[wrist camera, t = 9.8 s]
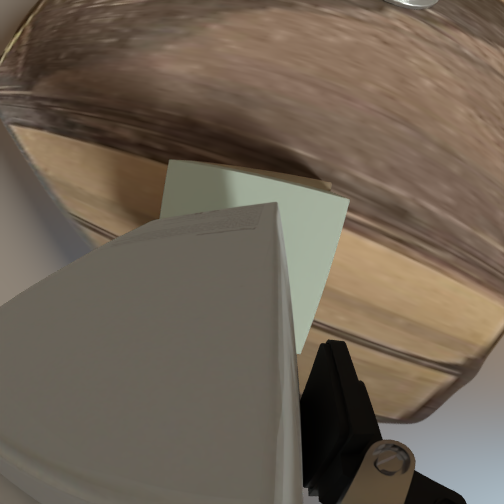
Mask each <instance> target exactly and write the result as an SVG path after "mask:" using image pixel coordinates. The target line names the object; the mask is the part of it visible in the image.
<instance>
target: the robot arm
mask: <svg viewBox="0 0 504 504" xmlns="http://www.w3.org/2000/svg"><path fill="white" fill-rule="evenodd" d="M384 1H387V2H389V3H392V4H394V5H397V6H401V7H404V8H409V9H426V8H429V7H431V6H433V5H434V4H435V3H436V2H437V1H438V0H384ZM300 413H301V438H302V470H303V487H304V488H308V491H309V496H319V502H321V503H322V504H466V501H465V499H464V498H463V497H462V496H461V495H460V494H458V493H456V492H455V491H453V490H451V489H449V488H447V487H445V486H443V485H441V484H439V483H437V482H435V481H433V480H431V479H429V478H428V477H426V476H424V475H422V474H420V473H419V472H417V471H415V470H414V469H415V457H414V454H413V453H412V451H411V450H410V449H409V448H408V447H407V446H406V445H404V444H402V443H400V442H398V441H394V440H383V439H382V436H381V433H380V429H379V426H378V423H377V420H376V417H375V414H374V411H373V408H372V405H371V402H370V399H369V396H368V393H367V390H366V387H365V384H364V383H363V382H362V381H358V378H357V375H356V372H355V369H354V366H353V363H352V360H351V357H350V354H349V351H348V348H347V345H346V343H345V342H344V341H337V340H327V342H326V343H321V344H320V347H319V349H318V352H317V355H316V358H315V361H314V364H313V367H312V370H311V373H310V375H309V378H308V381H307V384H306V386H305V389H304V392H303V394H302V397H301V400H300ZM0 504H41V503H40V502H38V501H37V500H35V499H34V498H32V497H31V496H29V495H28V494H27V493H25V492H24V491H22V490H21V489H20V488H18V487H17V486H16V485H14V484H13V483H12V482H10V481H9V480H8V479H7V478H5V477H4V476H3V475H2V474H1V473H0Z"/></svg>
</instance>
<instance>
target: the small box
mask: <svg viewBox="0 0 504 504" xmlns="http://www.w3.org/2000/svg"><path fill="white" fill-rule="evenodd" d="M0 473H1V474H2V475H3V476H4V477H5V478H7V479H8V480H9V481H10V482H12V483H13V484H14V485H16V486H17V487H18V488H20V489H21V490H22V491H24V492H25V493H27V494H28V495H29V496H31V497H32V498H34V499H35V500H37V501H38V502H40V503H41V504H303V470H302V438H301V413H300V394H299V380H298V367H297V354H296V342H295V330H294V319H293V308H292V299H291V289H290V281H289V272H288V263H287V256H286V249H285V242H284V235H283V228H282V222H281V216H280V210H279V205H278V203H277V202H270V203H262V204H254V205H247V206H240V207H233V208H226V209H219V210H212V211H206V212H199V213H193V214H186V215H180V216H174V217H168V218H162V219H156V220H152V221H150V222H148V223H146V224H144V225H142V226H140V227H138V228H136V229H134V230H132V231H130V232H128V233H126V234H124V235H122V236H119V237H117V238H116V239H114V240H112V241H110V242H108V243H106V244H104V245H102V246H100V247H99V248H97V249H95V250H93V251H91V252H90V253H88V254H86V255H84V256H83V257H81V258H79V259H77V260H76V261H74V262H72V263H70V264H69V265H67V266H65V267H63V268H62V269H60V270H58V271H57V272H55V273H53V274H51V275H49V276H48V277H46V278H45V279H43V280H41V281H39V282H38V283H36V284H34V285H33V286H31V287H29V288H28V289H26V290H25V291H23V292H21V293H20V294H19V295H17V296H15V297H14V298H13V299H11V300H10V301H8V302H7V303H5V304H3V305H2V306H0Z"/></svg>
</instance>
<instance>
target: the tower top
mask: <svg viewBox="0 0 504 504" xmlns="http://www.w3.org/2000/svg"><path fill="white" fill-rule="evenodd" d="M349 201H350V200H349V199H347V198H345V197H343V196H340V195H338V194H336V193H333V192H330V191H326V190H322V189H318V188H315V187H311V186H307V185H303V184H299V183H295V182H291V181H287V180H283V179H278V178H274V177H270V176H265V175H261V174H257V173H252V172H247V171H243V170H238V169H233V168H228V167H223V166H218V165H212V164H207V163H201V162H196V161H187V160H170V159H169V164H168V169H167V175H166V181H165V186H164V193H163V199H162V205H161V212H160V219H162V218H168V217H174V216H180V215H186V214H193V213H199V212H206V211H212V210H219V209H226V208H233V207H240V206H247V205H254V204H262V203H270V202H277V203H278V205H279V210H280V216H281V222H282V228H283V235H284V242H285V249H286V256H287V263H288V272H289V281H290V289H291V299H292V308H293V319H294V330H295V342H296V354H301V351H302V349H303V346H304V343H305V341H306V338H307V335H308V332H309V330H310V327H311V324H312V321H313V318H314V316H315V313H316V310H317V307H318V304H319V301H320V298H321V295H322V292H323V289H324V286H325V283H326V280H327V277H328V274H329V271H330V267H331V264H332V261H333V258H334V254H335V251H336V248H337V244H338V241H339V237H340V234H341V230H342V227H343V223H344V220H345V216H346V212H347V209H348V205H349Z"/></svg>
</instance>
